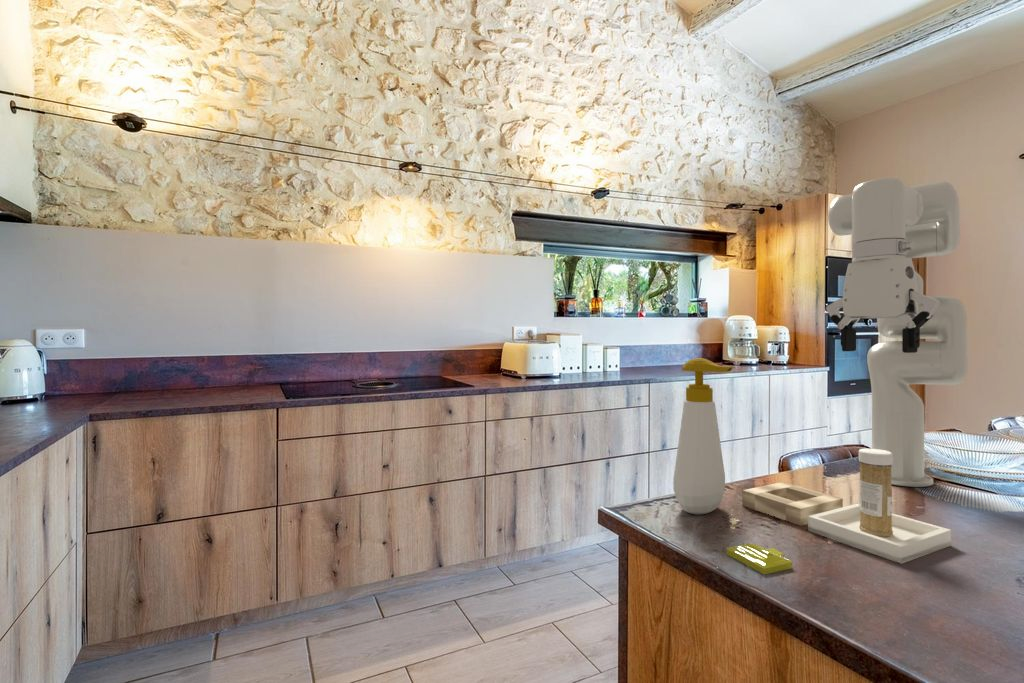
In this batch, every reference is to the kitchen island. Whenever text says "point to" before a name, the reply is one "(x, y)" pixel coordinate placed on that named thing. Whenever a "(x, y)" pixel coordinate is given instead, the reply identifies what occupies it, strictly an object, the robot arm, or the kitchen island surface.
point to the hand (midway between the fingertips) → (878, 351)
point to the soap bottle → (699, 445)
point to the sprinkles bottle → (875, 492)
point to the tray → (899, 547)
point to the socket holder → (789, 501)
